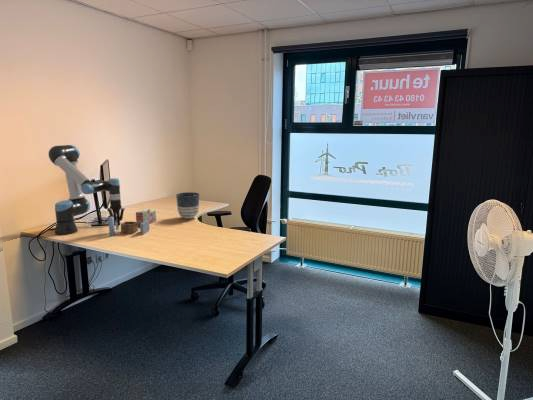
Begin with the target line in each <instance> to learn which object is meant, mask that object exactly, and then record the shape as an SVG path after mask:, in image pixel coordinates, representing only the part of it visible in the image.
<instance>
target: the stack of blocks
mask: <svg viewBox="0 0 533 400" xmlns="http://www.w3.org/2000/svg"><path fill="white" fill-rule="evenodd" d="M135 219H136V221H135V222H138V228H140V224H141V223H143V222H144V221H146V220H149V225H151V224H152V223H155V222H156V221H157V214H156V210H155V209H151V208H142V209H140V210H138V211H135Z"/></svg>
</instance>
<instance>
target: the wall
mask: <svg viewBox="0 0 533 400" xmlns="http://www.w3.org/2000/svg"><path fill="white" fill-rule="evenodd" d="M139 230H140V235H143V236H144V235H145V234H147V233H148V232H149V231H150V224H149V220H146V221H144V222H143V223H141V224H140V227H139Z"/></svg>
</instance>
